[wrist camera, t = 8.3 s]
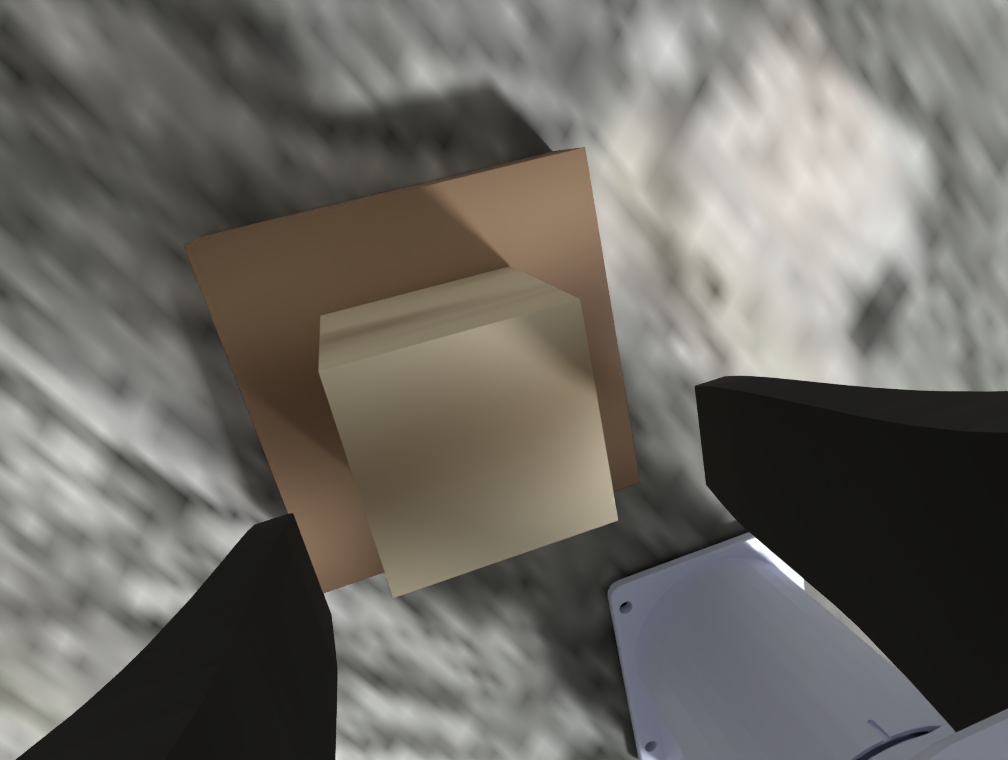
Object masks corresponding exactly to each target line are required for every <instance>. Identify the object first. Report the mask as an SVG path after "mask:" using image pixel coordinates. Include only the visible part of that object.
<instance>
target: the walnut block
mask: <svg viewBox="0 0 1008 760" xmlns="http://www.w3.org/2000/svg"><path fill="white" fill-rule="evenodd" d="M184 248H185V251H186V253H187V256H188V258H189V261H190V263H191V266H192V269H193V271H194V274H195V276H196V279H197V281H198V284H199V286H200V289H201V292H202V294H203V297H204V299H205V302H206V304H207V307H208V309H209V312H210V315H211V317H212V320H213V322H214V325H215V327H216V330H217V333H218V335H219V338H220V340H221V343H222V345H223V348H224V350H225V353H226V356H227V358H228V361H229V363H230V366H231V368H232V371H233V374H234V376H235V379H236V381H237V384H238V386H239V389H240V391H241V394H242V397H243V399H244V402H245V404H246V407H247V409H248V412H249V414H250V417H251V420H252V422H253V425H254V427H255V430H256V432H257V435H258V438H259V440H260V443H261V445H262V448H263V450H264V453H265V455H266V458H267V461H268V463H269V466H270V468H271V471H272V473H273V476H274V479H275V481H276V484H277V486H278V489H279V491H280V494H281V496H282V499H283V502H284V504H285V507H286V509H287V512H288V514H290V513H293V514H294V516H295V519H296V522H297V524H298V527H299V530H300V533H301V535H302V538H303V541H304V543H305V546H306V549H307V551H308V554H309V557H310V559H311V562H312V565H313V567H314V570H315V573H316V575H317V578H318V581H319V583H320V586H321V589H322V591H323V593H326V592H329V591H332V590H334V589H337V588H340V587H343V586H346V585H349V584H352V583H354V582H357V581H360V580H363V579H366V578H369V577H372V576H374V575H377V574H380V573H383V572H384V568H383V565H382V562H381V559H380V556H379V553H378V550H377V547H376V544H375V541H374V538H373V535H372V532H371V529H370V526H369V523H368V520H367V517H366V514H365V511H364V508H363V505H362V502H361V499H360V496H359V493H358V490H357V487H356V484H355V481H354V478H353V475H352V472H351V469H350V466H349V463H348V459H347V456H346V453H345V450H344V447H343V444H342V441H341V438H340V435H339V432H338V429H337V426H336V423H335V420H334V417H333V414H332V411H331V408H330V405H329V402H328V399H327V396H326V393H325V390H324V387H323V384H322V381H321V378H320V375H319V372H318V369H319V342H320V316H321V315H325V314H329V313H333V312H337V311H340V310H344V309H348V308H352V307H356V306H360V305H363V304H367V303H371V302H375V301H379V300H382V299H386V298H390V297H394V296H398V295H402V294H405V293H409V292H413V291H417V290H421V289H425V288H428V287H432V286H436V285H440V284H444V283H448V282H451V281H455V280H459V279H463V278H467V277H471V276H474V275H478V274H482V273H486V272H490V271H493V270H497V269H501V268H505V267H509V266H512V267H514V268H516V269H518V270H520V271H522V272H524V273H526V274H528V275H531V276H533V277H535V278H537V279H539V280H541V281H543V282H545V283H547V284H549V285H552V286H554V287H556V288H558V289H560V290H562V291H564V292H566V293H568V294H571V295H573V296H575V297H577V298H579V299H580V301H581V307H582V312H583V318H584V324H585V330H586V336H587V341H588V347H589V353H590V359H591V365H592V371H593V376H594V382H595V388H596V394H597V400H598V405H599V411H600V417H601V423H602V429H603V435H604V440H605V446H606V452H607V458H608V464H609V469H610V475H611V481H612V487H613V492H615V491H618V490H620V489H623V488H626V487H629V486H632V485H635V484H638V483H640V478H639V472H638V466H637V460H636V454H635V448H634V442H633V436H632V430H631V424H630V418H629V412H628V405H627V399H626V393H625V387H624V381H623V375H622V369H621V363H620V357H619V351H618V345H617V339H616V333H615V326H614V320H613V314H612V308H611V302H610V296H609V290H608V284H607V278H606V272H605V266H604V260H603V254H602V247H601V241H600V235H599V229H598V223H597V217H596V211H595V205H594V199H593V193H592V187H591V181H590V175H589V169H588V162H587V156H586V150H585V147H583V148H575V149H567V150H559V151H552V152H547V153H543V154H539V155H535V156H531V157H527V158H523V159H518V160H514V161H510V162H506V163H502V164H498V165H494V166H489V167H485V168H481V169H477V170H473V171H469V172H465V173H461V174H456V175H452V176H448V177H444V178H440V179H436V180H432V181H427V182H423V183H419V184H415V185H411V186H407V187H403V188H398V189H394V190H390V191H386V192H382V193H378V194H374V195H370V196H365V197H361V198H357V199H353V200H349V201H345V202H341V203H336V204H332V205H328V206H324V207H320V208H316V209H312V210H308V211H303V212H299V213H295V214H291V215H287V216H283V217H279V218H274V219H270V220H266V221H262V222H258V223H254V224H250V225H245V226H241V227H237V228H233V229H229V230H225V231H221V232H217V233H212V234H208V235H204V236H201V237H199V238H197V239H195V240H193V241H190V242H188V243H186V244H184Z"/></svg>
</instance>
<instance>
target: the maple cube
mask: <svg viewBox="0 0 1008 760" xmlns="http://www.w3.org/2000/svg"><path fill="white" fill-rule="evenodd" d="M318 372H319V375H320V378H321V381H322V384H323V387H324V390H325V393H326V396H327V399H328V402H329V405H330V408H331V411H332V414H333V417H334V420H335V423H336V426H337V429H338V432H339V435H340V438H341V441H342V444H343V447H344V450H345V453H346V456H347V459H348V463H349V466H350V469H351V472H352V475H353V478H354V481H355V484H356V487H357V490H358V493H359V496H360V499H361V502H362V505H363V508H364V511H365V514H366V517H367V520H368V523H369V526H370V529H371V532H372V535H373V538H374V541H375V544H376V547H377V550H378V553H379V556H380V559H381V562H382V565H383V568H384V572H385V575H386V578H387V581H388V584H389V587H390V590H391V593H392V596H393V598H395V597H398V596H401V595H404V594H407V593H410V592H413V591H416V590H418V589H421V588H424V587H427V586H430V585H433V584H436V583H439V582H442V581H445V580H447V579H450V578H453V577H456V576H459V575H462V574H465V573H468V572H471V571H473V570H476V569H479V568H482V567H485V566H488V565H491V564H494V563H497V562H500V561H502V560H505V559H508V558H511V557H514V556H517V555H520V554H523V553H526V552H529V551H531V550H534V549H537V548H540V547H543V546H546V545H549V544H552V543H555V542H558V541H560V540H563V539H566V538H569V537H572V536H575V535H578V534H581V533H584V532H587V531H589V530H592V529H595V528H598V527H601V526H604V525H607V524H610V523H613V522H616V521H618V516H617V510H616V504H615V499H614V493H613V487H612V481H611V475H610V469H609V464H608V458H607V452H606V446H605V440H604V435H603V429H602V423H601V417H600V411H599V405H598V400H597V394H596V388H595V382H594V376H593V371H592V365H591V359H590V353H589V347H588V341H587V336H586V330H585V324H584V318H583V312H582V307H581V301H580V299H579V298H577V297H575V296H573V295H571V294H568V293H566V292H564V291H562V290H560V289H558V288H556V287H554V286H552V285H549V284H547V283H545V282H543V281H541V280H539V279H537V278H535V277H533V276H531V275H528V274H526V273H524V272H522V271H520V270H518V269H516V268H514V267H512V266H509V267H505V268H501V269H497V270H493V271H490V272H486V273H482V274H478V275H474V276H471V277H467V278H463V279H459V280H455V281H451V282H448V283H444V284H440V285H436V286H432V287H428V288H425V289H421V290H417V291H413V292H409V293H405V294H402V295H398V296H394V297H390V298H386V299H382V300H379V301H375V302H371V303H367V304H363V305H360V306H356V307H352V308H348V309H344V310H340V311H337V312H333V313H329V314H325V315H321V316H320V342H319V369H318Z"/></svg>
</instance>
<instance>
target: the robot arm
mask: <svg viewBox="0 0 1008 760" xmlns="http://www.w3.org/2000/svg"><path fill="white" fill-rule="evenodd" d="M695 393H696V402H697V411H698V419H699V428H700V436H701V445H702V453H703V462H704V471H705V479H706V485H707V486H708V488H709V489H710V490H711V491H712V492H713V494H714V495H715V496H716V497H717V498H718V500H719V501H720V502H721V503H722V504H723V506H724V507H725V508H726V509H727V510H728V511H729V512H730V513H731V515H732V516H733V517H734V518H735V519H736V520H737V521H738V522H739V523H740V524H741V525H742V526H743V527H744V528H745V529H746V530H747V531H748V533H745V534H743V535H740V536H737V537H734V538H732V539H729V540H726V541H724V542H721V543H718V544H715V545H713V546H710V547H707V548H704V549H702V550H699V551H696V552H694V553H691V554H688V555H685V556H683V557H680V558H677V559H674V560H672V561H669V562H666V563H664V564H661V565H658V566H655V567H653V568H650V569H647V570H645V571H642V572H639V573H636V574H634V575H631V576H628V577H625V578H623V579H620V580H618V581H616V582H614V583H613V584H612V585H611V586H610V588H609V590H608V600H609V605H610V611H611V616H612V621H613V627H614V632H615V637H616V642H617V648H618V653H619V658H620V664H621V669H622V674H623V679H624V685H625V690H626V695H627V701H628V706H629V711H630V716H631V722H632V727H633V732H634V738H635V743H636V748H637V753H638V759H639V760H1008V391H996V392H972V391H918V390H901V389H886V388H871V387H860V386H848V385H838V384H828V383H818V382H809V381H799V380H790V379H780V378H769V377H755V376H725V377H722V378H718V379H715V380H712V381H709V382H706V383H703V384H699V385H696V386H695ZM804 579H805V580H806V581H807V582H808V583H809V584H810V585H812V586H813V587H814V588H815V589H816V590H817V591H819V592H820V593H821V594H822V595H823V596H825V597H826V598H827V599H828V600H829V601H830V602H832V603H833V604H834V605H835V606H836V607H837V608H838V609H840V610H841V611H842V612H843V613H844V614H845V615H846V616H847V617H848V618H849V619H850V620H851V621H853V622H854V623H855V624H856V625H857V626H858V627H859V628H860V629H861V630H862V631H863V632H864V633H865V634H866V635H867V636H868V637H869V639H870V640H871V641H872V642H873V643H874V644H875V645H876V646H877V647H878V648H879V649H880V650H881V651H882V652H883V653H884V654H885V655H886V656H887V657H888V658H889V659H890V660H891V661H892V662H893V664H894V665H895V666H896V667H897V668H898V669H899V670H900V671H901V672H902V673H903V674H904V675H905V676H904V675H903V674H902V673H901V672H900V671H899V670H897V669H896V668H895V667H894V666H893V665H891V664H890V663H889V662H888V661H887V660H886V659H884V658H883V657H882V656H881V655H880V654H878V653H877V652H876V651H875V650H874V649H873V648H871V647H870V646H869V645H868V644H867V643H866V642H864V641H863V640H862V639H861V638H860V637H858V636H857V635H856V634H855V633H854V632H853V631H851V630H850V629H849V628H848V627H847V626H845V625H844V624H843V623H842V622H841V621H840V620H838V619H837V618H836V617H835V616H834V615H833V614H831V613H830V612H829V611H828V610H827V609H825V608H824V607H823V606H822V605H821V604H820V603H818V602H817V601H816V600H815V599H814V598H812V597H811V596H810V595H809V594H808V593H807V592H805V590H804ZM624 602H627V604H626V605H625V606H623V607H620V606H621V605H622V604H623V603H624ZM336 717H337V660H336V650H335V641H334V633H333V624H332V616H331V613H330V610H329V607H328V605H327V602H326V599H325V597H324V594H323V591H322V589H321V586H320V583H319V581H318V578H317V575H316V573H315V570H314V567H313V565H312V562H311V559H310V557H309V554H308V551H307V549H306V546H305V543H304V541H303V538H302V535H301V533H300V530H299V527H298V524H297V522H296V519H295V516H294V514H293V513H290V514H287V515H284V516H280V517H277V518H274V519H271V520H268V521H265V522H261V523H258V524H255V525H254V526H253V527H252V528H251V529H249V530H248V532H247V533H246V534H245V535H244V536H243V537H242V538H241V539H240V541H239V542H238V543H237V544H236V545H235V546H234V548H233V549H232V550H231V551H230V552H229V554H228V555H227V556H226V557H225V558H224V560H223V561H222V562H221V563H220V564H219V566H218V567H217V568H216V569H215V570H214V572H213V573H212V574H211V575H210V576H209V578H208V579H207V580H206V581H205V582H204V583H203V585H202V586H201V587H200V588H199V589H198V591H197V592H196V593H195V594H194V595H193V596H192V598H191V599H190V600H189V601H188V602H187V603H186V604H185V605H184V606H183V607H182V608H181V610H180V611H179V612H178V613H177V614H176V615H175V616H174V617H173V618H172V619H171V620H170V621H169V622H168V624H167V625H166V626H165V627H164V628H163V629H162V630H161V631H160V632H159V633H158V634H157V635H156V636H155V638H154V639H153V640H152V641H151V642H150V643H149V644H148V645H147V646H146V647H145V648H144V649H143V650H142V651H141V652H140V653H139V654H138V655H137V656H136V657H135V658H134V659H133V660H132V661H131V662H130V663H129V664H128V665H127V666H126V667H125V668H124V669H123V670H122V671H121V672H119V673H118V674H117V675H116V676H115V677H114V678H113V679H112V680H111V681H110V682H108V683H107V684H106V685H105V686H104V687H103V688H102V689H101V690H100V691H99V692H97V693H96V694H95V695H94V696H93V697H92V698H91V699H90V700H89V701H87V702H86V703H85V704H84V705H83V706H82V707H80V708H79V709H78V710H77V711H76V712H75V713H74V714H72V715H71V716H70V717H69V718H67V719H66V720H65V721H64V722H62V723H61V724H60V725H59V726H57V727H56V728H55V729H53V730H52V731H51V732H50V733H48V734H47V735H46V736H45V737H43V738H42V739H41V740H40V741H38V742H37V743H36V744H35V745H33V746H32V747H31V748H30V749H28V750H27V751H26V752H25V753H23V754H22V755H21V756H20V757H18V758H17V759H16V760H335V751H336Z"/></svg>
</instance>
